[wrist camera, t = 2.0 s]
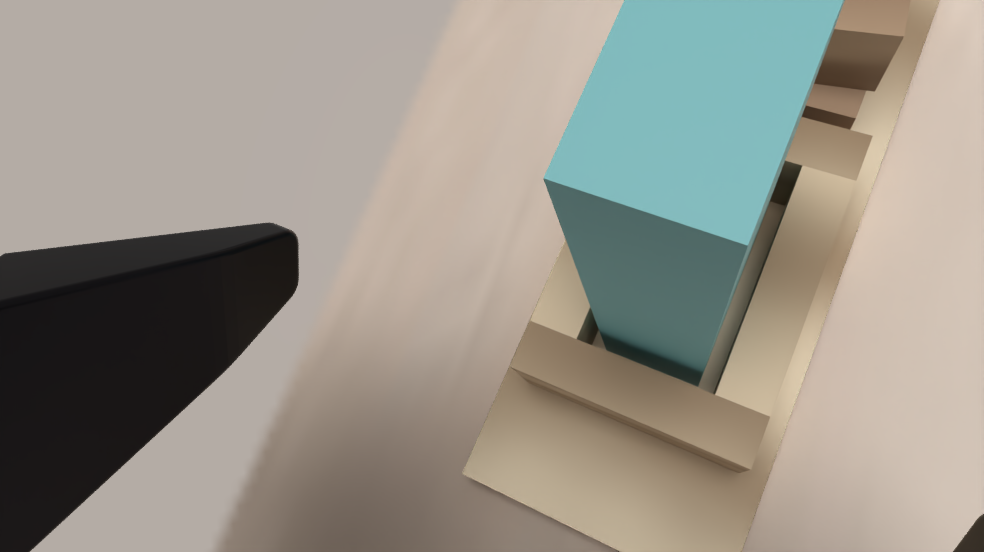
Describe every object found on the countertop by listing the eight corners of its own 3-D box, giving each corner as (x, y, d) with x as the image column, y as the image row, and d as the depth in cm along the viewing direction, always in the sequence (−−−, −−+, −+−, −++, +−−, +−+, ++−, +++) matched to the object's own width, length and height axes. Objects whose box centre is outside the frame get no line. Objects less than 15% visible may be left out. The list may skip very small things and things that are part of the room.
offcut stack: (842, 160, 19) (892, 69, 15) (662, 110, 21) (663, 14, 16) (901, 1, 20) (963, -127, 16) (725, -36, 22) (740, -161, 17)
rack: (719, 595, 18) (733, 619, 14) (473, 474, 20) (433, 470, 17) (934, -1, 21) (988, -98, 18) (702, -48, 23) (709, -143, 20)
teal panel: (697, 386, 18) (747, 246, 8) (606, 350, 19) (543, 178, 9) (764, 214, 19) (887, -114, 9) (674, 185, 20) (691, -146, 10)
